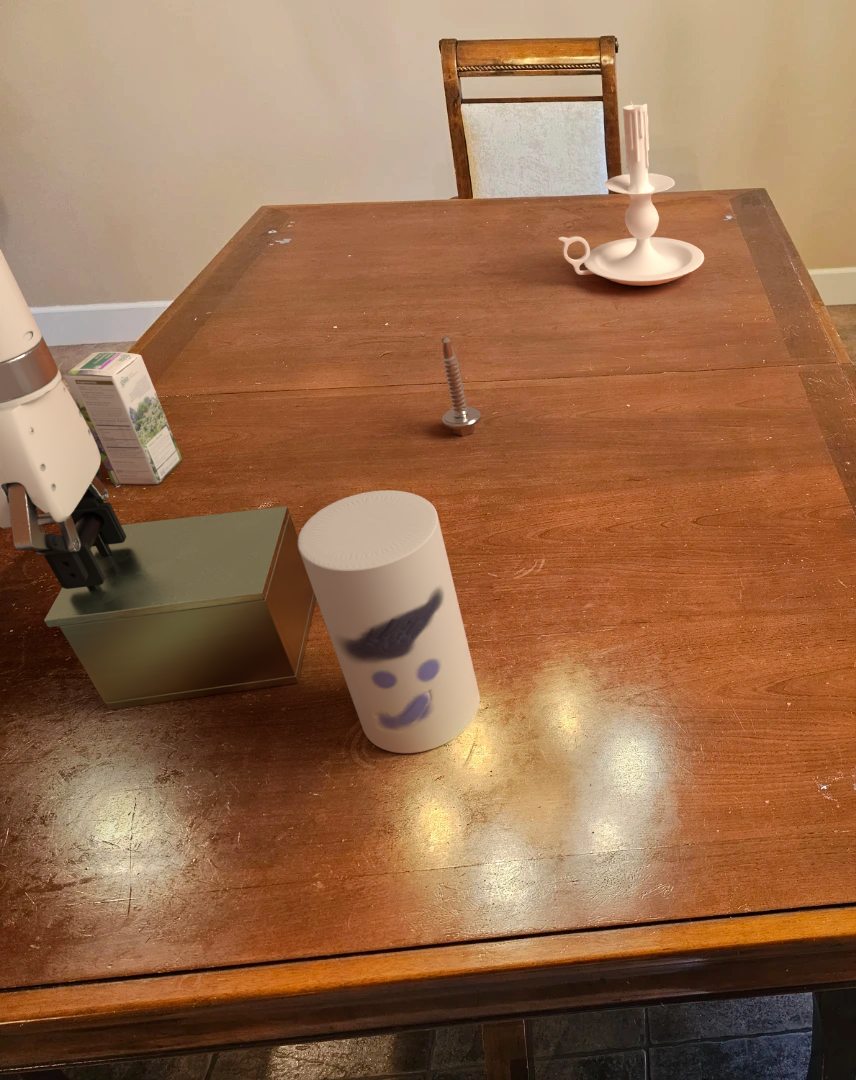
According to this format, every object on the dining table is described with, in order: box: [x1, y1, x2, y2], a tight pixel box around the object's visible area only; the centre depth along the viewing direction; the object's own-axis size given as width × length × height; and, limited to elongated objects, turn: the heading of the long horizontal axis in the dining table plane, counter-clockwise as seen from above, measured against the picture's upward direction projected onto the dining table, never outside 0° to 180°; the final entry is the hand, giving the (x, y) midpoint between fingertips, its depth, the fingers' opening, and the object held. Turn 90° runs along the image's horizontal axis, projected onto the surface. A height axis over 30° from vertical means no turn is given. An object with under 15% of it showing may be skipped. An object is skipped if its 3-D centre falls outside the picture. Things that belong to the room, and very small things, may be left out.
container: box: [297, 489, 481, 754], centre depth 75 cm, size 10×10×20 cm
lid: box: [44, 505, 290, 628], centre depth 79 cm, size 17×13×5 cm
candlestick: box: [557, 100, 705, 287], centre depth 151 cm, size 21×25×28 cm
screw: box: [441, 336, 482, 437], centre depth 115 cm, size 13×5×5 cm
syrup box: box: [63, 351, 183, 485], centre depth 107 cm, size 6×6×14 cm
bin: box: [59, 513, 317, 711], centre depth 84 cm, size 16×13×10 cm
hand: (95, 561), depth 79 cm, fingers closed on lid, 5 cm apart
